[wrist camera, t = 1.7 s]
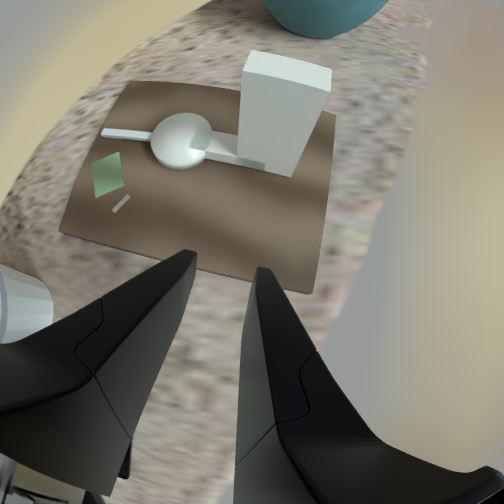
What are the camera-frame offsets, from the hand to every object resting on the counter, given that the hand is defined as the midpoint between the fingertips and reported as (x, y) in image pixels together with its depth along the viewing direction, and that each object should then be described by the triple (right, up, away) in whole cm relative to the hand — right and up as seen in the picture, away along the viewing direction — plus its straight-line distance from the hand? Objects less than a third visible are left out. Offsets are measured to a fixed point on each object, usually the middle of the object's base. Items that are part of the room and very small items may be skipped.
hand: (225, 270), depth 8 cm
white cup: (-19, -5, +11) cm, 23 cm away
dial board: (-4, +8, +14) cm, 17 cm away
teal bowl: (+9, +33, +20) cm, 40 cm away
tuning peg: (-5, +9, +13) cm, 17 cm away
